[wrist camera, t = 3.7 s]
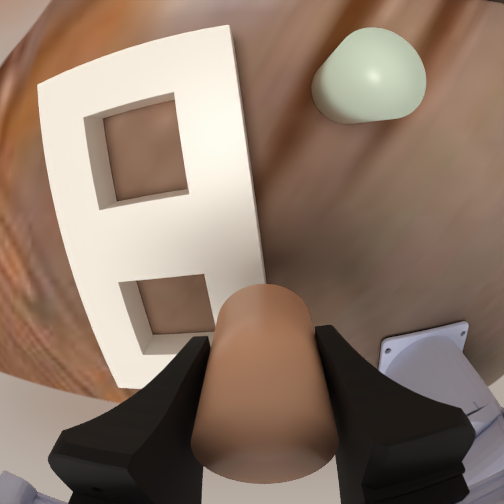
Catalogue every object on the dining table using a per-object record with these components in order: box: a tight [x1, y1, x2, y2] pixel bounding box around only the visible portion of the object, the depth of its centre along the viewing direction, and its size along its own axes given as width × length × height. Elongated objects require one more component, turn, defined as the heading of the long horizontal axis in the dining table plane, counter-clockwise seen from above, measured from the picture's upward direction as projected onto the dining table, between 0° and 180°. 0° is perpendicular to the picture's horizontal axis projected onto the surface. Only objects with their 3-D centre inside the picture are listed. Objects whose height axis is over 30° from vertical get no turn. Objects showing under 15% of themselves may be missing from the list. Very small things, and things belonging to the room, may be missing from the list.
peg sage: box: [311, 28, 426, 124], centre depth 13 cm, size 4×4×6 cm
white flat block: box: [37, 25, 266, 389], centre depth 18 cm, size 22×12×2 cm, turn 7°
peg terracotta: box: [191, 284, 339, 484], centre depth 10 cm, size 4×4×6 cm
